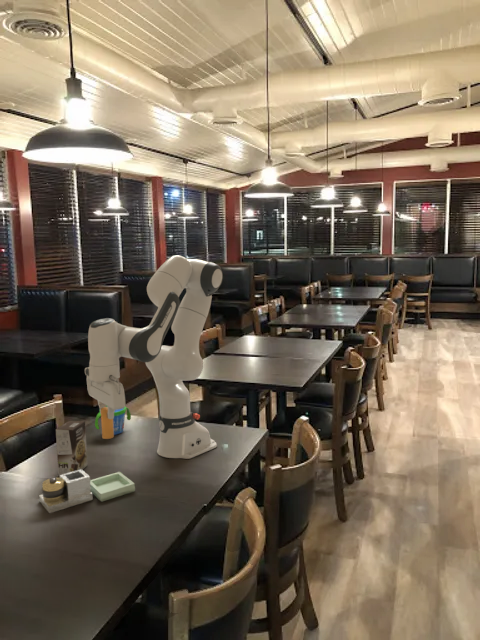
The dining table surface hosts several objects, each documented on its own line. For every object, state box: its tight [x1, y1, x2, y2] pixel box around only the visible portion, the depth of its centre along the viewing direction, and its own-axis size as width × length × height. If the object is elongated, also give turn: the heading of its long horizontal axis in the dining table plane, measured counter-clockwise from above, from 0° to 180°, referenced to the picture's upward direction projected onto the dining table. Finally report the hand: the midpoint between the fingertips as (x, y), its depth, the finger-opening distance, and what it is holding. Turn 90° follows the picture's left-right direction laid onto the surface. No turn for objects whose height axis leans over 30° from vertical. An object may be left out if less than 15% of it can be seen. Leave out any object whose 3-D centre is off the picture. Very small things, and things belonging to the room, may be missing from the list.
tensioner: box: [38, 469, 94, 514], centre depth 160 cm, size 13×9×8 cm
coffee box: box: [55, 420, 88, 476], centre depth 181 cm, size 9×6×16 cm
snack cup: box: [94, 405, 132, 436], centre depth 217 cm, size 16×10×10 cm
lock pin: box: [100, 407, 115, 440], centre depth 164 cm, size 4×4×9 cm
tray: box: [90, 471, 136, 502], centre depth 167 cm, size 11×11×2 cm
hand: (107, 416), depth 164 cm, fingers closed on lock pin, 3 cm apart
